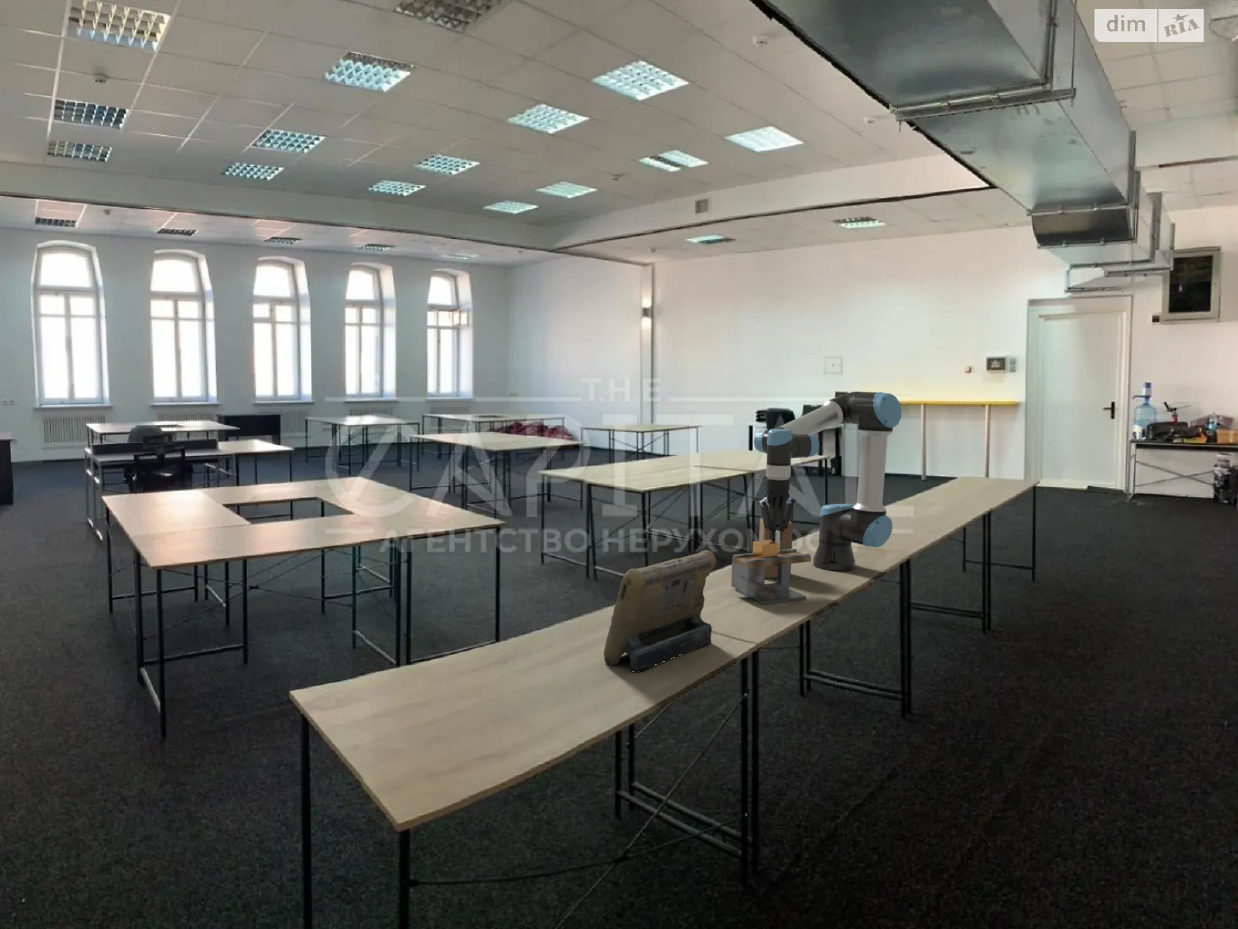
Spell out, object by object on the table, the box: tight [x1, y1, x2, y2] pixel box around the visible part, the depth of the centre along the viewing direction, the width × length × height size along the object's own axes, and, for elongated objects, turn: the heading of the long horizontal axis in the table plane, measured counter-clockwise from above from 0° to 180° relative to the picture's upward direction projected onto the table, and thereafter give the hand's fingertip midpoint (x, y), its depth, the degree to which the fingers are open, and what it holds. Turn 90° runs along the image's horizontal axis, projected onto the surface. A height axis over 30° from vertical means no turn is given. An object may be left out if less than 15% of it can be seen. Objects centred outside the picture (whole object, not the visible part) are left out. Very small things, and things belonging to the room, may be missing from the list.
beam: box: [730, 548, 812, 594], centre depth 243 cm, size 24×9×10 cm, turn 114°
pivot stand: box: [735, 562, 807, 606], centre depth 243 cm, size 16×16×12 cm
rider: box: [752, 540, 778, 559], centre depth 241 cm, size 6×5×5 cm
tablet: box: [603, 549, 717, 673], centre depth 192 cm, size 33×14×25 cm, turn 141°
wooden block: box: [758, 516, 794, 579], centre depth 266 cm, size 10×10×20 cm
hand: (775, 550), depth 242 cm, fingers closed
